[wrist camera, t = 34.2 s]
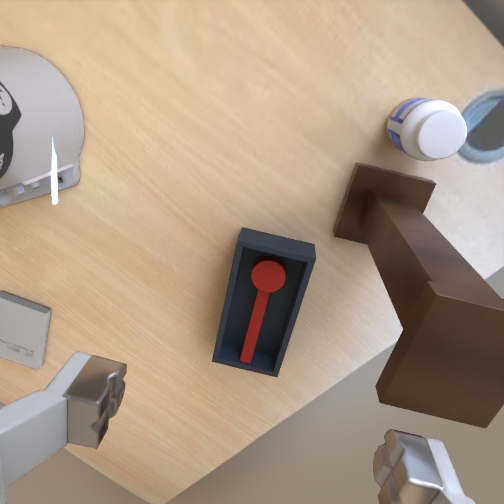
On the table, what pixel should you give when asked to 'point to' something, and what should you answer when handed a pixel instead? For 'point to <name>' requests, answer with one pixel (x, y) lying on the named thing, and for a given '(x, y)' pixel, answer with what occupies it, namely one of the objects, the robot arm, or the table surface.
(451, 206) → the table surface
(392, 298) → the stand
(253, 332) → the red lever with knob
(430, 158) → the pill bottle
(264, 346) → the bin
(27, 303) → the hard drive
